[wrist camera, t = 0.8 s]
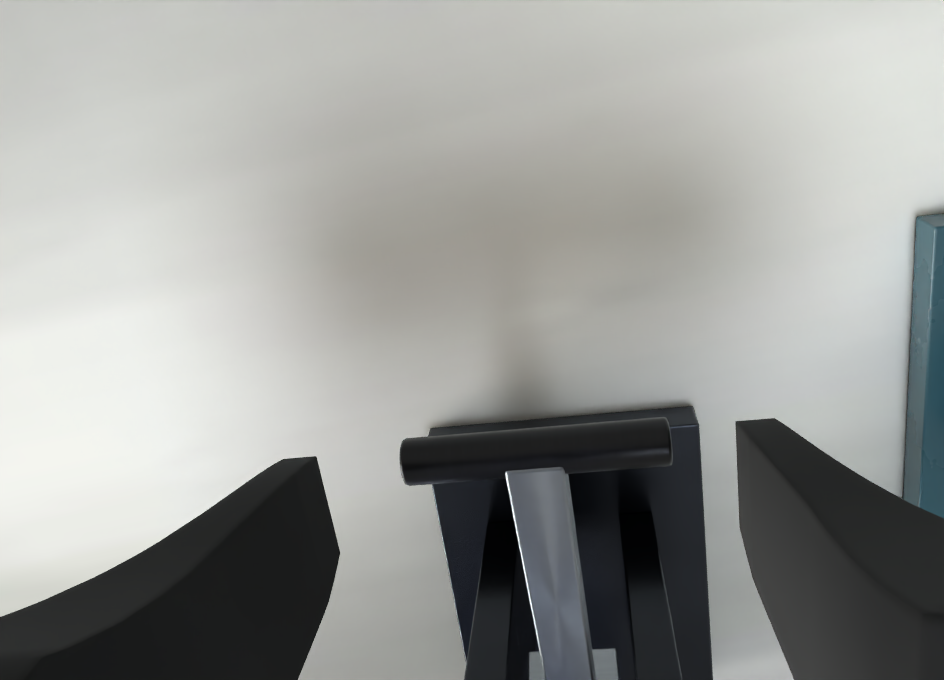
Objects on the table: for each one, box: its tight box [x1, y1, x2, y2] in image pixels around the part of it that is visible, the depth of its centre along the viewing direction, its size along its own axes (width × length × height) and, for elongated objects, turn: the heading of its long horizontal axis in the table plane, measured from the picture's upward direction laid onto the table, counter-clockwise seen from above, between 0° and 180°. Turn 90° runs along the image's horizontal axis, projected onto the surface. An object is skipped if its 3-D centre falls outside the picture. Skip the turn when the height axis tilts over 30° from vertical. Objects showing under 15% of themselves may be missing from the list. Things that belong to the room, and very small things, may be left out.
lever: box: [400, 417, 673, 680], centre depth 18 cm, size 11×5×2 cm, turn 8°
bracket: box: [428, 406, 713, 680], centre depth 23 cm, size 10×8×9 cm
